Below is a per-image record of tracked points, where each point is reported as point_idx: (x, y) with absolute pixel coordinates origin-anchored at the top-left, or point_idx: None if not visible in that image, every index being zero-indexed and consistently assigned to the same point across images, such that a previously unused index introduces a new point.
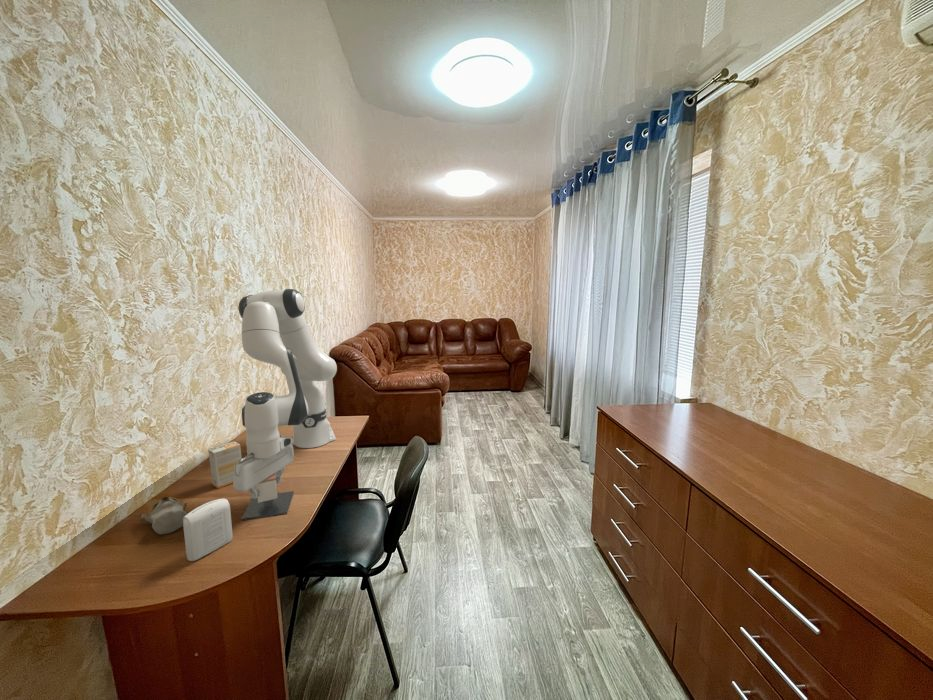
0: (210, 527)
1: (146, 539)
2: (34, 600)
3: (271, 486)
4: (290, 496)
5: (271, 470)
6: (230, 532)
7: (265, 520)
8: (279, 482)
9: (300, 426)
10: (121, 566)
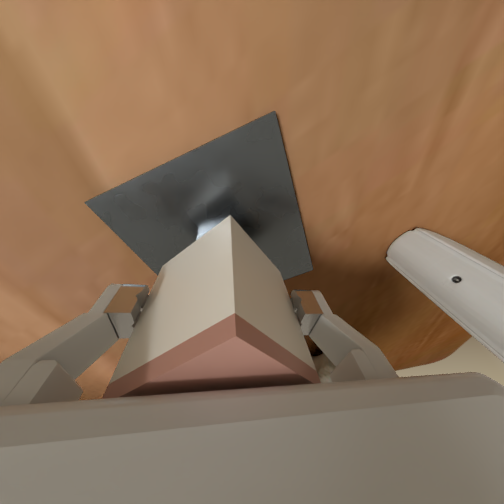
0: None
1: None
2: (441, 354)
3: (256, 289)
4: (135, 189)
5: (209, 494)
6: (448, 242)
7: (320, 191)
8: (132, 285)
9: None
10: (413, 336)
